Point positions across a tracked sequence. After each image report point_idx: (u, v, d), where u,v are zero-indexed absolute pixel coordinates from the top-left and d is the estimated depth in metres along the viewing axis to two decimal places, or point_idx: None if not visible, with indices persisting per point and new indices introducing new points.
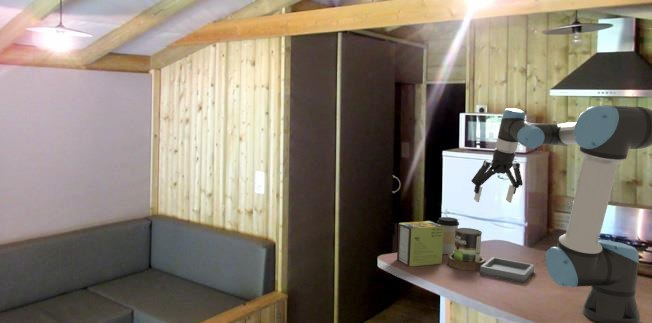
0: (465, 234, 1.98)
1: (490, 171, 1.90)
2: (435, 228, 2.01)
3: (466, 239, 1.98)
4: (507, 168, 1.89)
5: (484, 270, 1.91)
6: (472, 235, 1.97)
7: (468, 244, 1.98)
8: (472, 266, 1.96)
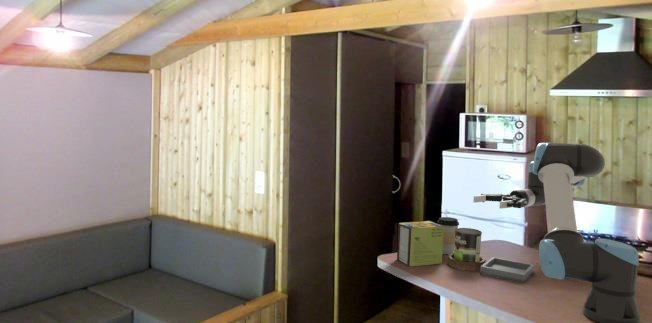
0: (465, 234, 1.98)
1: None
2: (435, 228, 2.01)
3: (466, 239, 1.98)
4: (514, 195, 2.12)
5: (484, 270, 1.91)
6: (472, 235, 1.97)
7: (468, 244, 1.98)
8: (472, 266, 1.96)
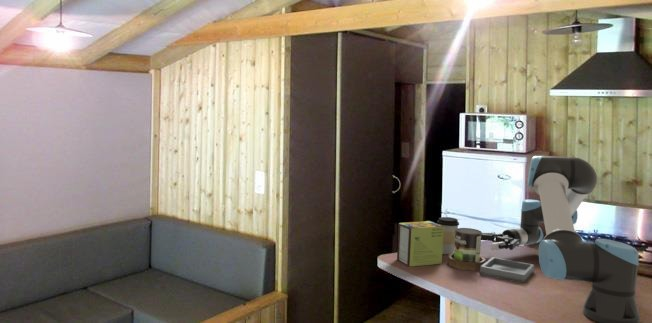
0: (465, 234, 1.98)
1: None
2: (435, 228, 2.01)
3: (466, 239, 1.98)
4: (506, 235, 2.12)
5: (484, 270, 1.91)
6: (472, 235, 1.97)
7: (468, 244, 1.98)
8: (472, 266, 1.96)
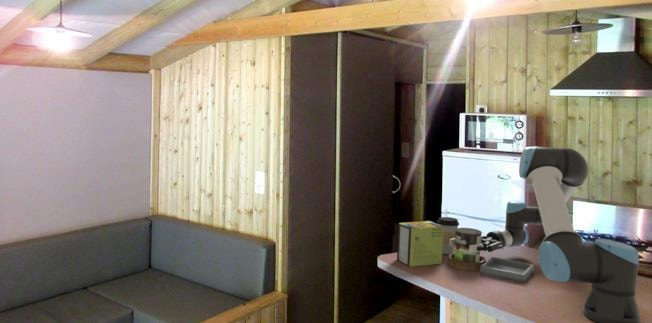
0: (465, 234, 1.98)
1: None
2: (435, 228, 2.01)
3: (466, 239, 1.98)
4: (490, 237, 2.07)
5: (484, 270, 1.91)
6: (472, 234, 1.97)
7: (468, 243, 1.98)
8: (472, 266, 1.96)
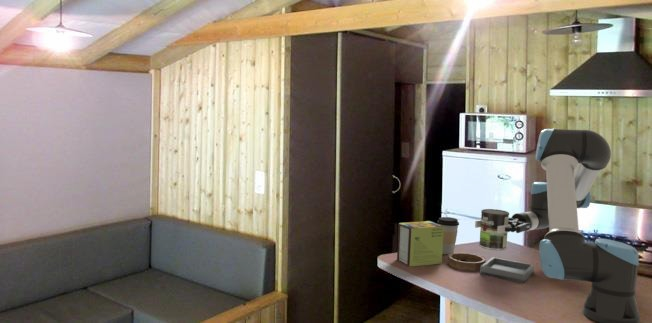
0: (493, 214, 1.91)
1: None
2: (435, 228, 2.01)
3: (494, 219, 1.91)
4: (516, 219, 2.01)
5: (484, 270, 1.91)
6: (500, 215, 1.91)
7: (495, 224, 1.91)
8: (472, 266, 1.96)
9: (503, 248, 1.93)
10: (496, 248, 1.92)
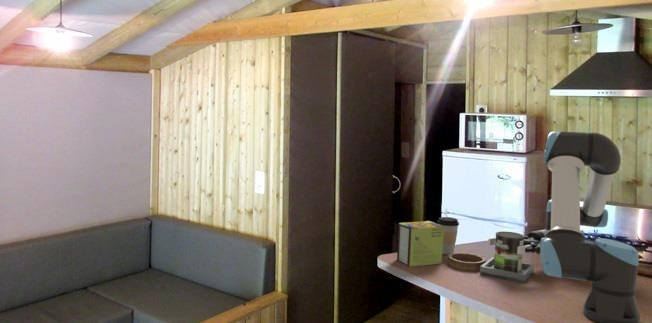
0: (507, 238, 1.89)
1: None
2: (435, 228, 2.01)
3: (509, 243, 1.89)
4: (532, 238, 1.98)
5: (484, 270, 1.91)
6: (515, 239, 1.88)
7: (510, 248, 1.89)
8: (472, 266, 1.96)
9: (518, 272, 1.90)
10: None
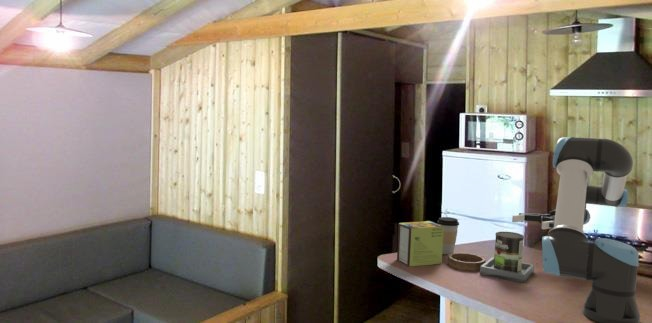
0: (507, 238, 1.89)
1: None
2: (435, 228, 2.01)
3: (509, 243, 1.89)
4: (554, 215, 2.04)
5: (484, 270, 1.91)
6: (515, 239, 1.88)
7: (510, 248, 1.89)
8: (472, 266, 1.96)
9: (518, 272, 1.90)
10: None
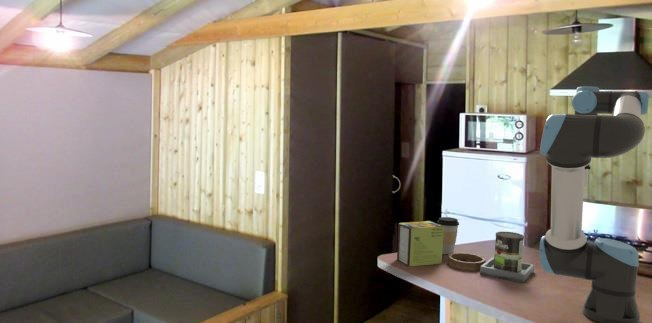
0: (507, 238, 1.89)
1: None
2: (435, 228, 2.01)
3: (509, 243, 1.89)
4: None
5: (484, 270, 1.91)
6: (515, 239, 1.88)
7: (510, 248, 1.89)
8: (472, 266, 1.96)
9: (518, 272, 1.90)
10: None
